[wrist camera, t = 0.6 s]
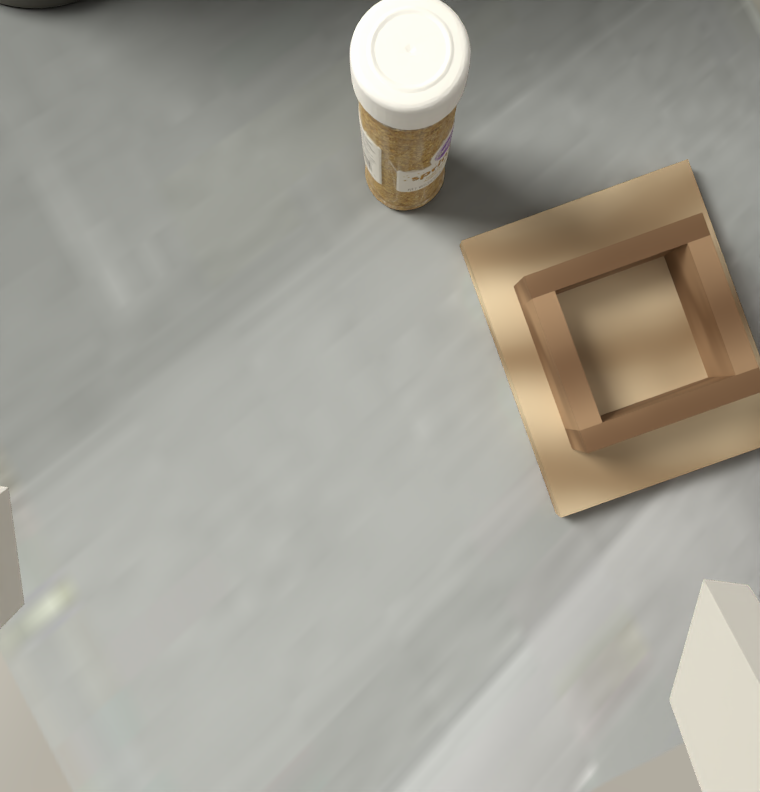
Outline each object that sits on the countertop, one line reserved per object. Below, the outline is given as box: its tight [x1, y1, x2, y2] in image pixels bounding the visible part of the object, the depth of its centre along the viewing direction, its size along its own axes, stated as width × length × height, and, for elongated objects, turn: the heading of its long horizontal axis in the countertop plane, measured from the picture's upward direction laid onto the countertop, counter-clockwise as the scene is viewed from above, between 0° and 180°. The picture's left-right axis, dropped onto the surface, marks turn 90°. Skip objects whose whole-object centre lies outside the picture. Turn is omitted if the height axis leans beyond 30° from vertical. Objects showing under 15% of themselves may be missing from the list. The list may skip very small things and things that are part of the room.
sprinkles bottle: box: [350, 0, 471, 210], centre depth 32 cm, size 5×5×14 cm
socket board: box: [460, 159, 760, 518], centre depth 36 cm, size 16×13×4 cm
